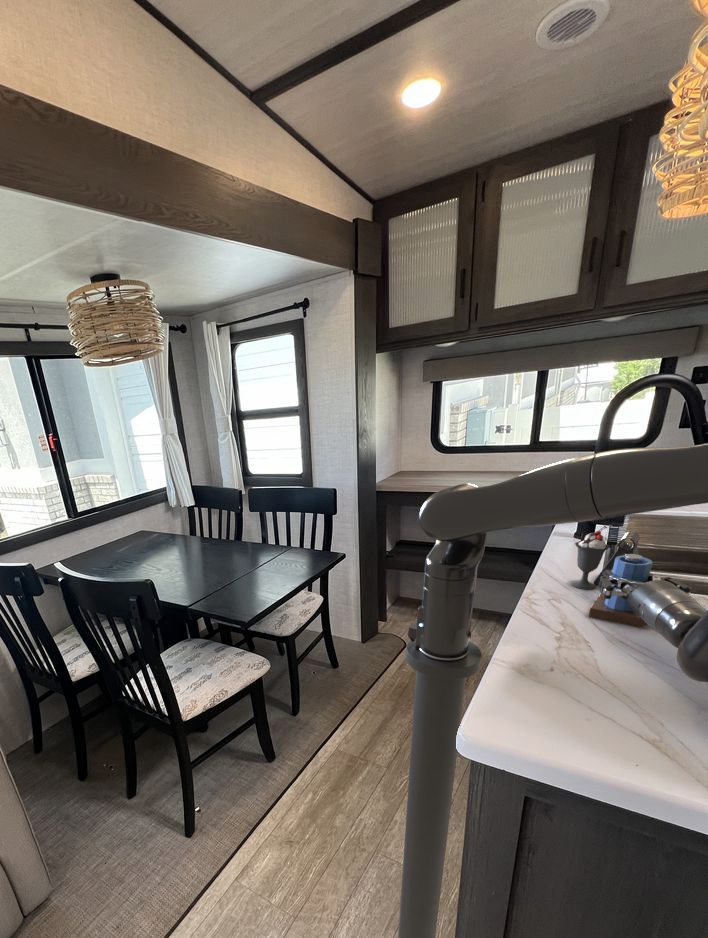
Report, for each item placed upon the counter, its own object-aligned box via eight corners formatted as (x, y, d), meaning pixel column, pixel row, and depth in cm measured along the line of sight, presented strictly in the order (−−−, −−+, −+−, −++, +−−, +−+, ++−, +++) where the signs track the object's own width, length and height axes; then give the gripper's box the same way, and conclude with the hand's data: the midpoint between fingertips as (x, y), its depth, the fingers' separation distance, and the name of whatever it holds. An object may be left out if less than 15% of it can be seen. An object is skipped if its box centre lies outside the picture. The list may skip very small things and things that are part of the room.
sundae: (600, 592, 107) (615, 529, 101) (566, 588, 111) (578, 526, 105) (600, 582, 112) (614, 521, 106) (567, 578, 116) (579, 519, 110)
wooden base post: (588, 616, 97) (601, 558, 92) (597, 601, 103) (611, 546, 98) (642, 628, 92) (659, 566, 86) (649, 611, 97) (666, 553, 92)
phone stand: (644, 583, 110) (657, 534, 105) (639, 592, 106) (653, 541, 101) (598, 576, 116) (609, 529, 111) (592, 584, 112) (603, 535, 107)
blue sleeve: (601, 607, 97) (612, 561, 93) (607, 597, 100) (618, 553, 96) (636, 614, 93) (649, 566, 89) (641, 604, 96) (654, 558, 92)
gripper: (723, 590, 78) (669, 557, 93) (623, 588, 82) (587, 556, 97) (709, 629, 81) (659, 591, 96) (613, 626, 85) (579, 590, 100)
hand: (623, 574), depth 96 cm, fingers closed on blue sleeve, 5 cm apart
